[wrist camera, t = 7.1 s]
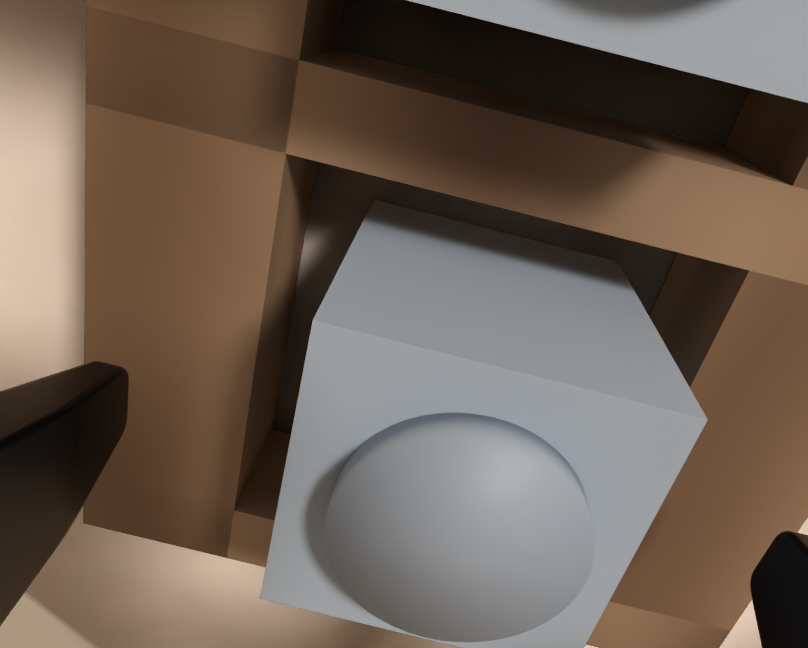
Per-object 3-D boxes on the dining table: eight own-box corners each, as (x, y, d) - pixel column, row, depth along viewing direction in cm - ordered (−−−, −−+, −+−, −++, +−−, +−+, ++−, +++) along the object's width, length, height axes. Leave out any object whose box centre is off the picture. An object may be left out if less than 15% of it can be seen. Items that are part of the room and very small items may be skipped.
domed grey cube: (617, 261, 12) (723, 447, 7) (537, 455, 14) (574, 707, 9) (374, 198, 12) (301, 341, 7) (329, 403, 14) (249, 628, 9)
